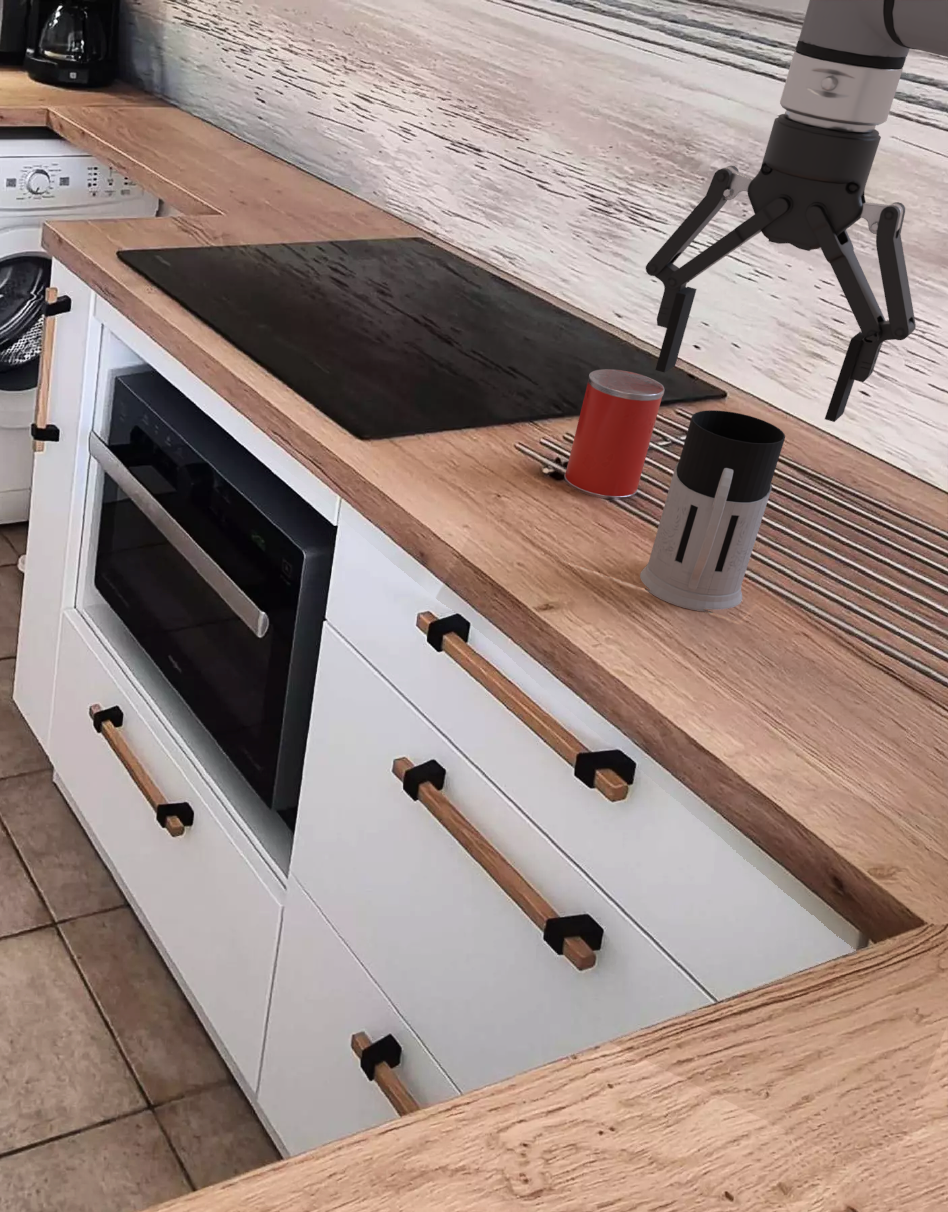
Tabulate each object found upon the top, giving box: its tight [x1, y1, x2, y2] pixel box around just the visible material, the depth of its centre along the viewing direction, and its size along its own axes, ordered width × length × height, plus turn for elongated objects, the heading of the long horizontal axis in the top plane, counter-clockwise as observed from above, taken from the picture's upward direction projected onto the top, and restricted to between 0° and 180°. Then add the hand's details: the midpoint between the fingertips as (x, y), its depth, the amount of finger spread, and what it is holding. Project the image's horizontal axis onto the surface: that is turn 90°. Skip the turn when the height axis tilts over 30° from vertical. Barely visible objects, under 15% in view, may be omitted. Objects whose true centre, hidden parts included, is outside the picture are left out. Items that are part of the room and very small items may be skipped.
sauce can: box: [563, 368, 665, 501], centre depth 154 cm, size 7×7×11 cm
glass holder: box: [639, 409, 786, 613], centre depth 132 cm, size 9×14×15 cm, turn 159°
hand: (747, 392), depth 127 cm, fingers open, 13 cm apart
